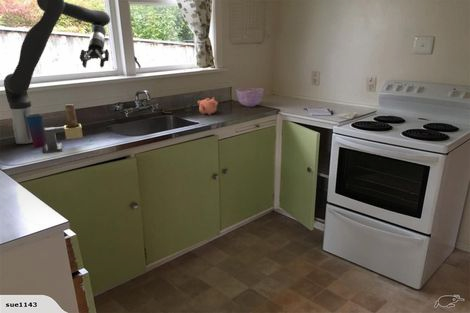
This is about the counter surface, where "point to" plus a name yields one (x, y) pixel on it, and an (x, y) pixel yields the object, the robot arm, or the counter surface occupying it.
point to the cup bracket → (51, 137)
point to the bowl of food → (249, 96)
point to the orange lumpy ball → (207, 106)
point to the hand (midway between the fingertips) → (92, 66)
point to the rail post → (71, 115)
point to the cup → (36, 129)
